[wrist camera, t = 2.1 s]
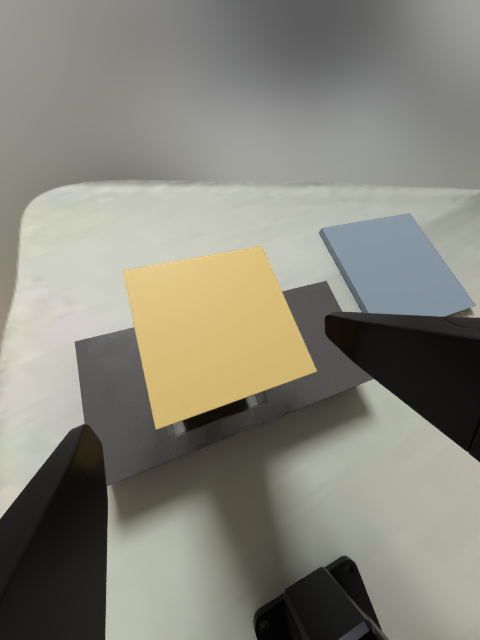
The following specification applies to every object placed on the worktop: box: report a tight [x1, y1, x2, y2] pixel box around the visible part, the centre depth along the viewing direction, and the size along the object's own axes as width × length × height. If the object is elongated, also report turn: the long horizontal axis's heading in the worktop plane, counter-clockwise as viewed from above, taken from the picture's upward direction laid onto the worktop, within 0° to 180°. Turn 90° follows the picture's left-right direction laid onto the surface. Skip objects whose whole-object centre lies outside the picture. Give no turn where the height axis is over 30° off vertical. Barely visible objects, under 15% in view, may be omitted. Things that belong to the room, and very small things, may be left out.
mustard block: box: [123, 246, 317, 429], centre depth 12 cm, size 5×5×11 cm
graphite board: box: [75, 281, 374, 486], centre depth 16 cm, size 8×18×2 cm, turn 109°
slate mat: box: [319, 213, 476, 317], centre depth 24 cm, size 12×12×1 cm
